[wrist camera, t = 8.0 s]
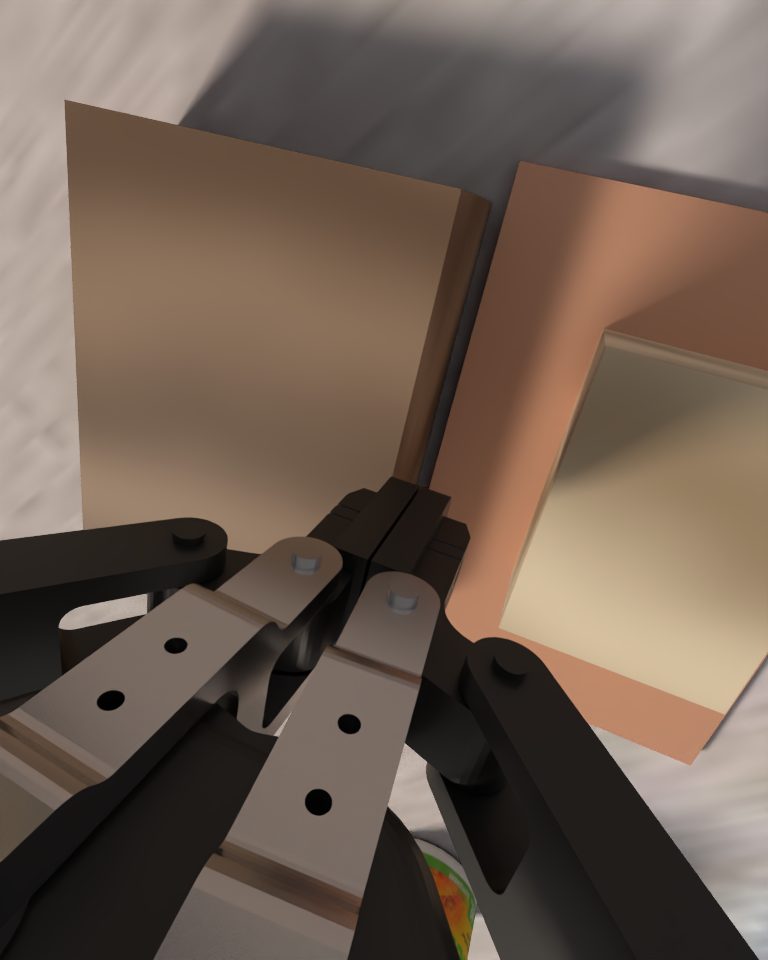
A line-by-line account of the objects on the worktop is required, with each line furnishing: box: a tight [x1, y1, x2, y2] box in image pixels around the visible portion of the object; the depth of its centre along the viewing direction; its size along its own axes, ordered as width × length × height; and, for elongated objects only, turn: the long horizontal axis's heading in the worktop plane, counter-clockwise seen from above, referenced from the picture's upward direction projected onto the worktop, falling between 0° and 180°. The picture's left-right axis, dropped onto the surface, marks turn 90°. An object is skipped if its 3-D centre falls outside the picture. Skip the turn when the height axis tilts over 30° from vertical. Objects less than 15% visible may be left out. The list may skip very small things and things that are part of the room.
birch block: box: [499, 329, 768, 715], centre depth 14 cm, size 8×6×3 cm
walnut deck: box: [65, 100, 492, 594], centre depth 17 cm, size 14×10×4 cm
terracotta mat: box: [429, 161, 768, 765], centre depth 16 cm, size 16×11×1 cm
